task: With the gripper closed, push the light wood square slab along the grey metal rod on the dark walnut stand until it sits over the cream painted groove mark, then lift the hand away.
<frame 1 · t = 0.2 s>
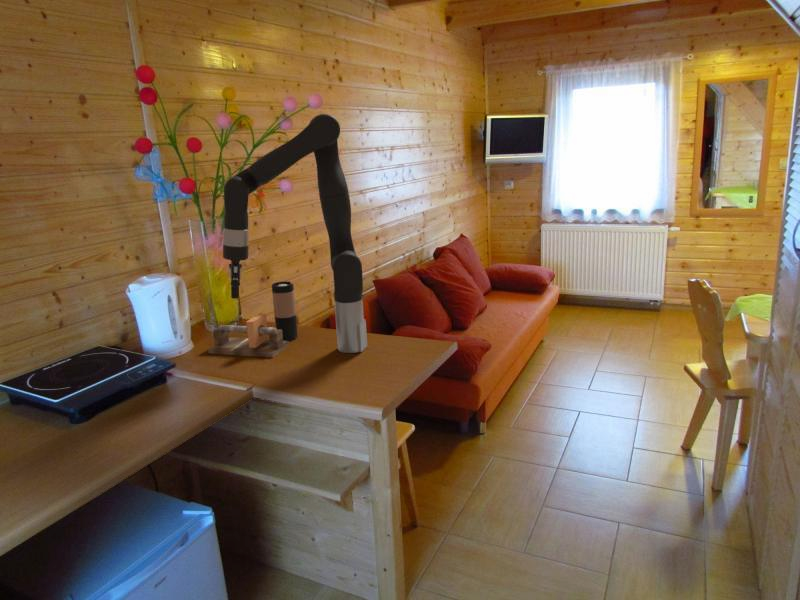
hand: (234, 294, 176), 22 cm above the table, tool pointing down, fingers open, 8 cm apart
rod stand: (249, 349, 193), on the table
light wood square slab: (257, 330, 190), point 7 cm above the table, slide at 0.0 cm
travel mug: (287, 338, 203), on the table
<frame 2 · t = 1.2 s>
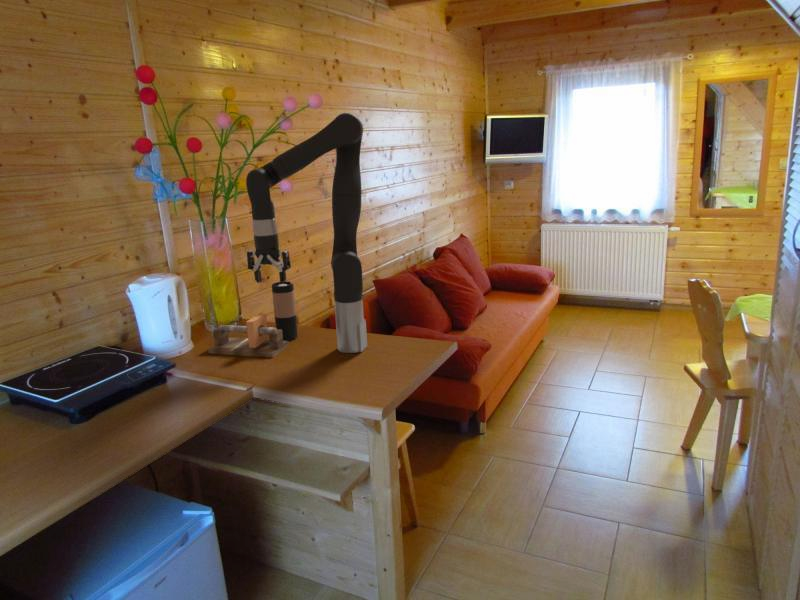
hand: (270, 282, 183), 24 cm above the table, tool pointing down, fingers open, 8 cm apart
nothing on the table moved.
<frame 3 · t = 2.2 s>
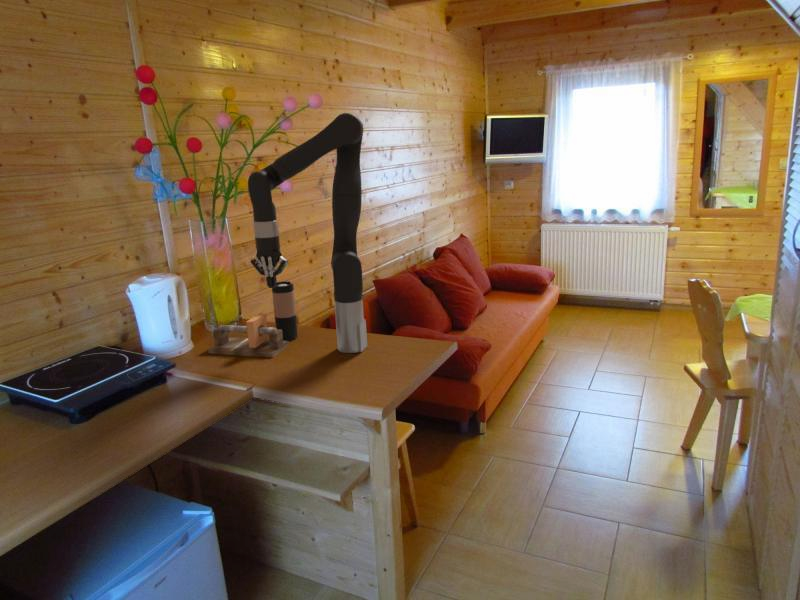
hand: (272, 287, 184), 22 cm above the table, tool pointing down, fingers closed
nothing on the table moved.
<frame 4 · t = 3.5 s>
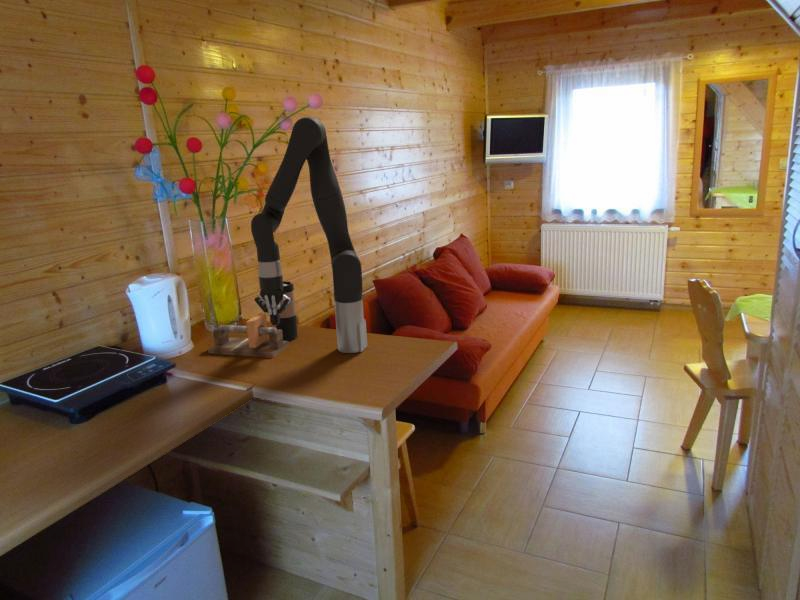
hand: (275, 324, 187), 9 cm above the table, tool pointing down, fingers closed
nothing on the table moved.
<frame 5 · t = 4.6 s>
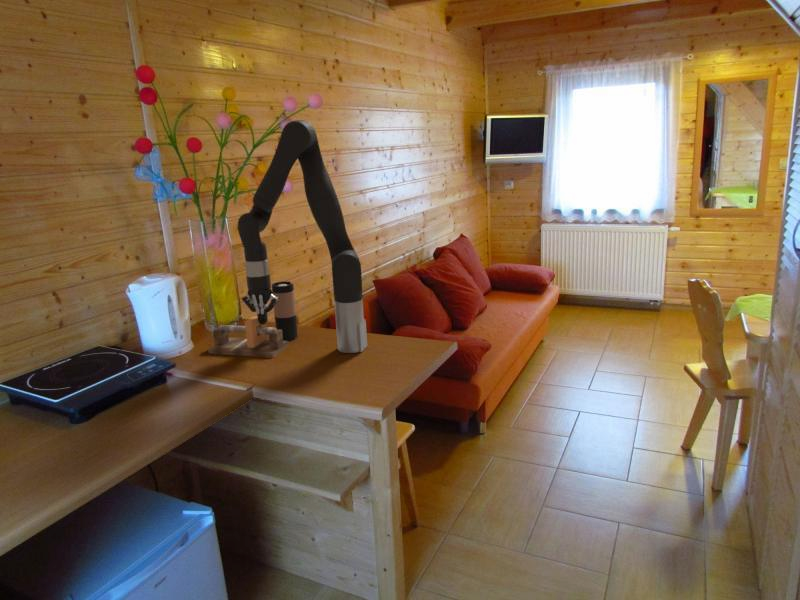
hand: (263, 323, 189), 9 cm above the table, tool pointing down, fingers closed
light wood square slab: (256, 330, 190), point 7 cm above the table, slide at 0.7 cm, touching gripper
everything else where it was.
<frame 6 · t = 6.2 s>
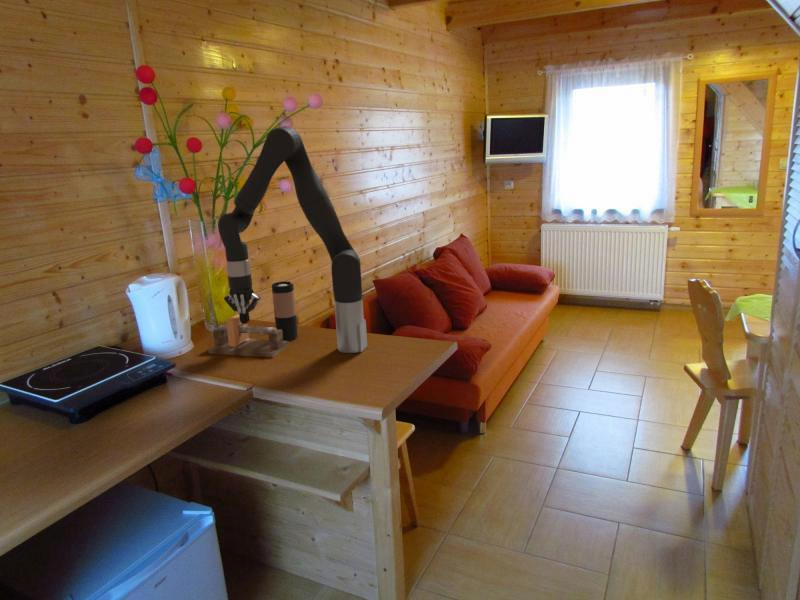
hand: (245, 323, 190), 9 cm above the table, tool pointing down, fingers closed
light wood square slab: (237, 329, 192), point 7 cm above the table, slide at 7.5 cm, touching gripper
everything else where it was.
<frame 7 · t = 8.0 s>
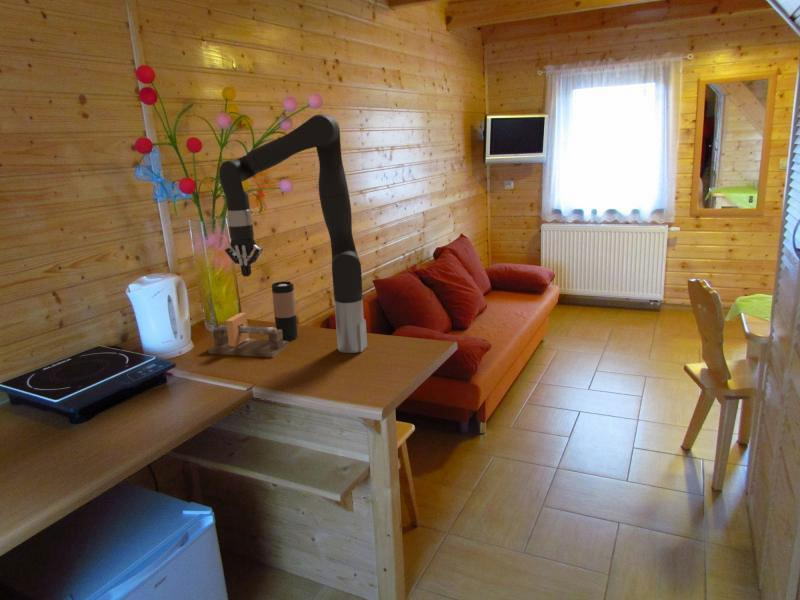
hand: (246, 276, 186), 26 cm above the table, tool pointing down, fingers closed
light wood square slab: (237, 329, 192), point 7 cm above the table, slide at 7.6 cm
everything else where it was.
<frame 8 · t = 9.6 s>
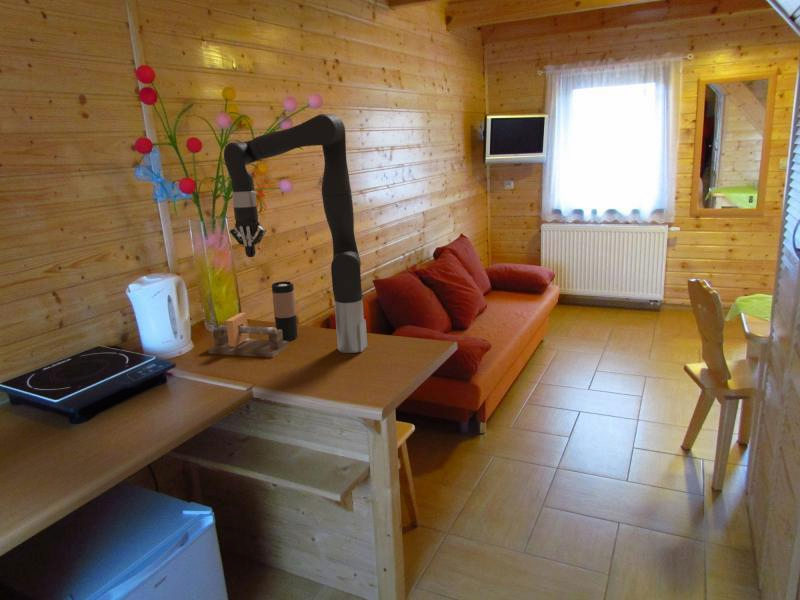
hand: (250, 256, 190), 31 cm above the table, tool pointing down, fingers closed
nothing on the table moved.
at the end: light wood square slab slide at 7.6 cm; travel mug moved 0.2 cm from its start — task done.
